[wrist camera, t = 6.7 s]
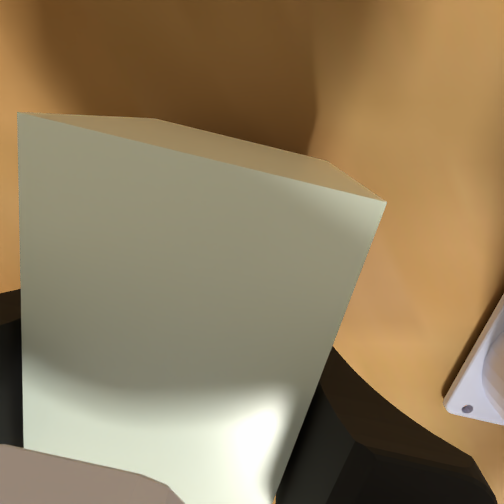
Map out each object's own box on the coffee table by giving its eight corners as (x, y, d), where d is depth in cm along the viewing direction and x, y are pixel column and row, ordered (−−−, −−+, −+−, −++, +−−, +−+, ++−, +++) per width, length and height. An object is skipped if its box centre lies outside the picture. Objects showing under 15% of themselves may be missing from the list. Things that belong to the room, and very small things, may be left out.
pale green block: (326, 160, 12) (387, 202, 5) (250, 411, 16) (236, 597, 10) (154, 118, 11) (17, 111, 5) (123, 383, 16) (25, 552, 9)
